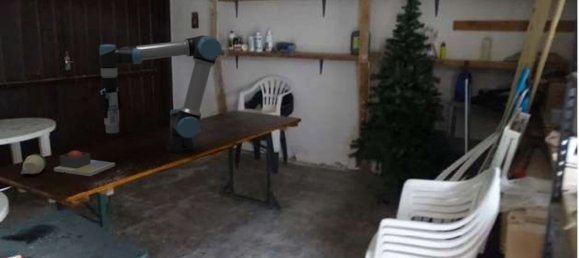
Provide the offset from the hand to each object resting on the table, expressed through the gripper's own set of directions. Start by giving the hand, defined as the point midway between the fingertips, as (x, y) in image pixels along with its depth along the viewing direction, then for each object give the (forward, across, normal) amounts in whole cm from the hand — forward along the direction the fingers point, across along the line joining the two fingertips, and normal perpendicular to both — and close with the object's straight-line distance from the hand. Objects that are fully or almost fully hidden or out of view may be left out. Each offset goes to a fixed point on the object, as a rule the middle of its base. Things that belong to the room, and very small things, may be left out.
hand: (112, 123), depth 243 cm
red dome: (+18, +16, -9) cm, 26 cm away
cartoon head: (+20, +29, -21) cm, 41 cm away
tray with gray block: (+20, +15, -5) cm, 25 cm away
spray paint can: (+5, 0, 0) cm, 5 cm away
